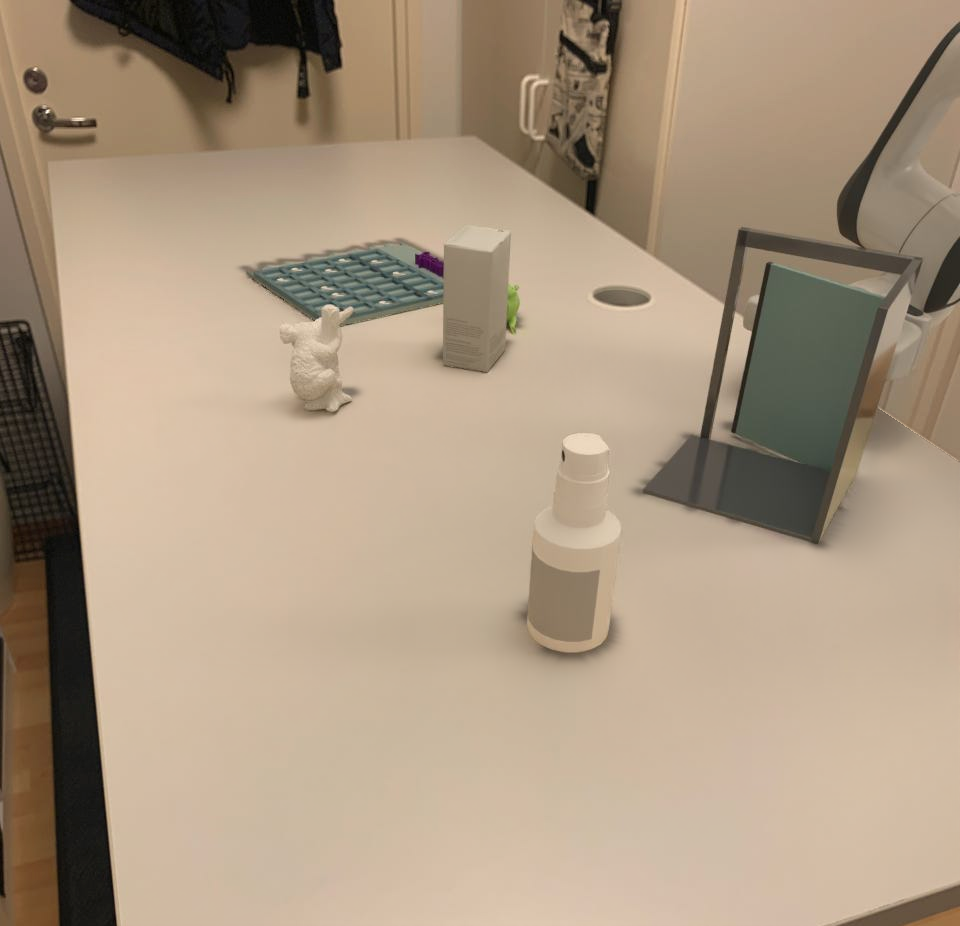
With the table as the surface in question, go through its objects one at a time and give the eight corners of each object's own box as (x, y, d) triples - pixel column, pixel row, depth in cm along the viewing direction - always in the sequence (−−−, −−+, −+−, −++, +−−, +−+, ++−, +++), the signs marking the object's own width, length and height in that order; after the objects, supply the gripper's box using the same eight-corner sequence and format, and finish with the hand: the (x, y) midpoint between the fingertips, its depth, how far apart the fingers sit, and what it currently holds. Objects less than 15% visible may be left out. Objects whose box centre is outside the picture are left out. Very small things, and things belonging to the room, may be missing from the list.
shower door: (864, 461, 104) (918, 286, 91) (834, 478, 100) (886, 299, 88) (761, 417, 111) (799, 251, 99) (730, 432, 108) (766, 262, 96)
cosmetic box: (463, 343, 128) (464, 223, 118) (509, 350, 126) (514, 229, 117) (440, 366, 122) (440, 241, 112) (489, 374, 120) (492, 248, 110)
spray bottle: (518, 615, 82) (529, 425, 70) (594, 608, 83) (617, 419, 71) (536, 666, 76) (551, 469, 65) (617, 658, 77) (645, 462, 66)
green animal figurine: (472, 330, 132) (473, 289, 128) (479, 316, 136) (480, 276, 132) (516, 334, 131) (518, 292, 127) (521, 320, 135) (523, 279, 132)
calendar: (245, 275, 148) (243, 260, 146) (398, 245, 161) (398, 230, 159) (327, 330, 131) (325, 314, 130) (491, 292, 144) (491, 276, 142)
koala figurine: (360, 393, 115) (353, 294, 108) (360, 417, 110) (353, 316, 103) (290, 394, 115) (279, 295, 107) (287, 419, 109) (275, 317, 102)
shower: (853, 484, 100) (923, 257, 86) (815, 553, 90) (888, 309, 75) (693, 441, 107) (732, 225, 92) (640, 501, 97) (675, 268, 82)
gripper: (791, 270, 114) (717, 292, 107) (946, 321, 102) (874, 349, 95) (779, 321, 118) (707, 346, 111) (927, 376, 106) (857, 407, 99)
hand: (786, 348), depth 103 cm, fingers closed on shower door, 2 cm apart
